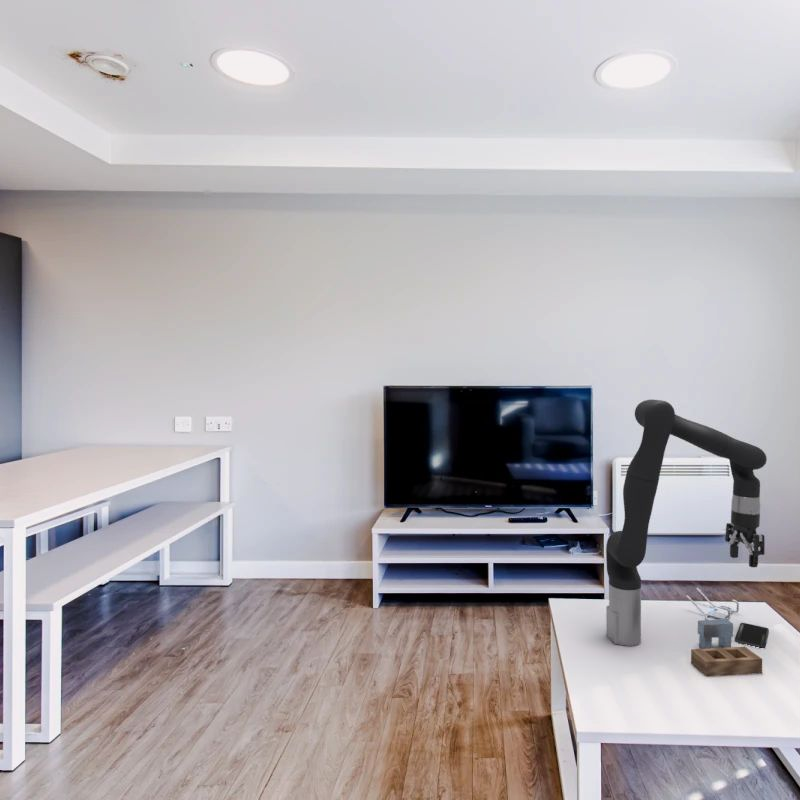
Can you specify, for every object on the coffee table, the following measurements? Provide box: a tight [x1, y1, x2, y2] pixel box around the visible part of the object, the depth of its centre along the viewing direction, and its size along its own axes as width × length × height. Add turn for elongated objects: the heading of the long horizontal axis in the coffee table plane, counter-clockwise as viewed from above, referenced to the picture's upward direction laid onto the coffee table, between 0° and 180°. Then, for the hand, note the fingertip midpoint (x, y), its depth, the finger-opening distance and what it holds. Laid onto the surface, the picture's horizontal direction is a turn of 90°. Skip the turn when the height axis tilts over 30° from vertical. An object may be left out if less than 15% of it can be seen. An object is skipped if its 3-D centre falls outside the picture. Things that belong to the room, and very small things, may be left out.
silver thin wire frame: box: [686, 587, 740, 621], centre depth 192 cm, size 16×14×6 cm
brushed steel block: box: [697, 618, 734, 649], centre depth 168 cm, size 9×3×8 cm, turn 94°
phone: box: [734, 622, 770, 649], centre depth 175 cm, size 8×1×15 cm
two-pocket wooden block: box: [690, 646, 763, 677], centre depth 157 cm, size 16×7×4 cm, turn 94°
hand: (743, 562), depth 173 cm, fingers open, 8 cm apart
